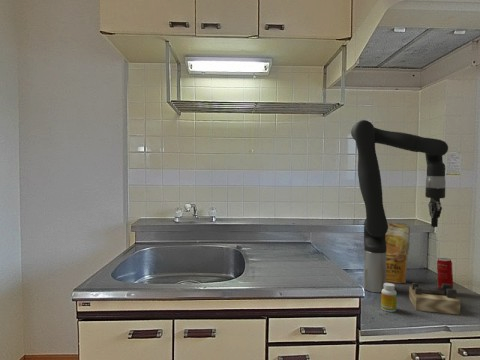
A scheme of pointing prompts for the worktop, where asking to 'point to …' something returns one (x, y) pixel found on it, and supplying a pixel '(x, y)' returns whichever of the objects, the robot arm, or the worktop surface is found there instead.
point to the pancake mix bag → (396, 252)
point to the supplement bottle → (388, 297)
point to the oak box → (435, 300)
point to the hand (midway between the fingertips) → (434, 226)
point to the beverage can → (444, 272)
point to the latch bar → (432, 290)
